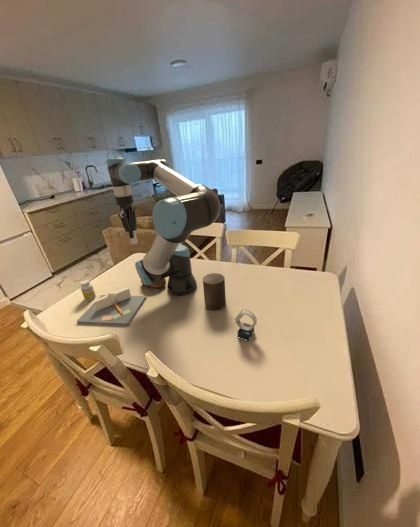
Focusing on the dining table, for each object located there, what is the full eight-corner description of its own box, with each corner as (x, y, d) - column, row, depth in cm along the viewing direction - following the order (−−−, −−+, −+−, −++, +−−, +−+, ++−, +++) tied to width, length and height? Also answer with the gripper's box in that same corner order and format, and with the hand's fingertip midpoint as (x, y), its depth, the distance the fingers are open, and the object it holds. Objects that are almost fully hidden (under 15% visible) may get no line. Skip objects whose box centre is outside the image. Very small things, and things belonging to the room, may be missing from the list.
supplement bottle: (95, 299, 120) (89, 283, 115) (84, 301, 118) (77, 285, 114) (96, 293, 124) (91, 278, 120) (85, 296, 123) (79, 280, 119)
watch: (239, 327, 94) (238, 304, 89) (258, 333, 90) (259, 310, 85) (232, 336, 90) (232, 313, 85) (252, 343, 86) (253, 319, 81)
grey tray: (146, 298, 117) (145, 295, 117) (128, 325, 100) (127, 323, 99) (102, 296, 121) (101, 294, 121) (77, 323, 104) (76, 320, 103)
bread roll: (159, 292, 121) (157, 279, 118) (137, 287, 127) (134, 274, 124) (170, 283, 129) (168, 270, 125) (148, 278, 135) (145, 266, 132)
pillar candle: (224, 311, 104) (222, 281, 97) (202, 309, 106) (199, 280, 99) (227, 298, 112) (226, 270, 106) (207, 297, 114) (204, 269, 108)
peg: (129, 294, 118) (126, 285, 115) (139, 306, 109) (136, 296, 106) (95, 308, 110) (92, 298, 107) (103, 322, 100) (99, 311, 98)
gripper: (122, 192, 114) (133, 238, 124) (108, 198, 102) (121, 248, 113) (137, 192, 113) (146, 238, 123) (124, 197, 101) (136, 248, 112)
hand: (134, 243), depth 118 cm, fingers closed
